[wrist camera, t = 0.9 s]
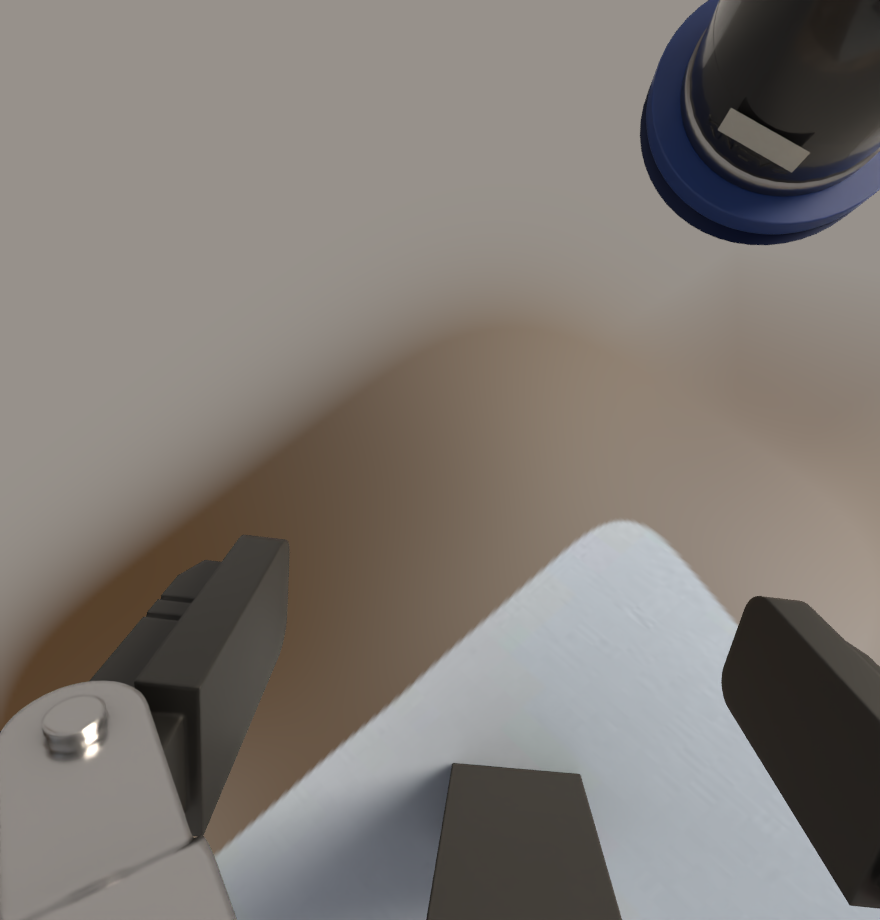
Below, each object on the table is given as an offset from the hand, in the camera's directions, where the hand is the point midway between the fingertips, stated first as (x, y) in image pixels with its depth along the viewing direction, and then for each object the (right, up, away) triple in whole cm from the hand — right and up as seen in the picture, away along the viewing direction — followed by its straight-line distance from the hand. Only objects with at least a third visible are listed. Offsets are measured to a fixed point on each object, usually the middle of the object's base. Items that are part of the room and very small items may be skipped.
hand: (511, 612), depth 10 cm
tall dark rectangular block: (+2, -14, +17) cm, 22 cm away
